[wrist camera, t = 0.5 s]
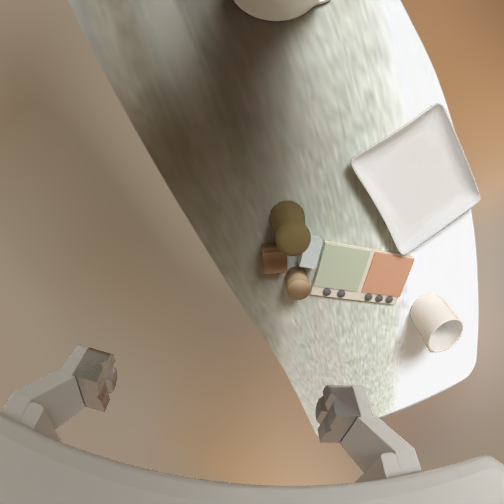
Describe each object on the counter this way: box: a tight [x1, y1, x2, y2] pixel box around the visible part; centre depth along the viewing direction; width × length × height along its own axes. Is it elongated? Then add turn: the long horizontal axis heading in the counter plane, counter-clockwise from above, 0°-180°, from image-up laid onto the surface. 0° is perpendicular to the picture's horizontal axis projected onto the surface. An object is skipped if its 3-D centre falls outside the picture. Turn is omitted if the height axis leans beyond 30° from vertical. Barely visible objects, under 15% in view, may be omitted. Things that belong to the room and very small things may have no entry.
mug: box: [411, 292, 463, 352], centre depth 58 cm, size 9×12×11 cm
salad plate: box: [351, 103, 481, 255], centre depth 49 cm, size 21×21×3 cm
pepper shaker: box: [270, 201, 311, 256], centre depth 49 cm, size 6×6×11 cm
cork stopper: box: [285, 267, 310, 300], centre depth 57 cm, size 4×4×5 cm
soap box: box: [298, 235, 323, 269], centre depth 55 cm, size 5×3×3 cm, turn 171°
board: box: [310, 240, 414, 304], centre depth 58 cm, size 11×19×1 cm, turn 81°
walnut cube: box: [262, 243, 287, 274], centre depth 55 cm, size 4×4×4 cm
